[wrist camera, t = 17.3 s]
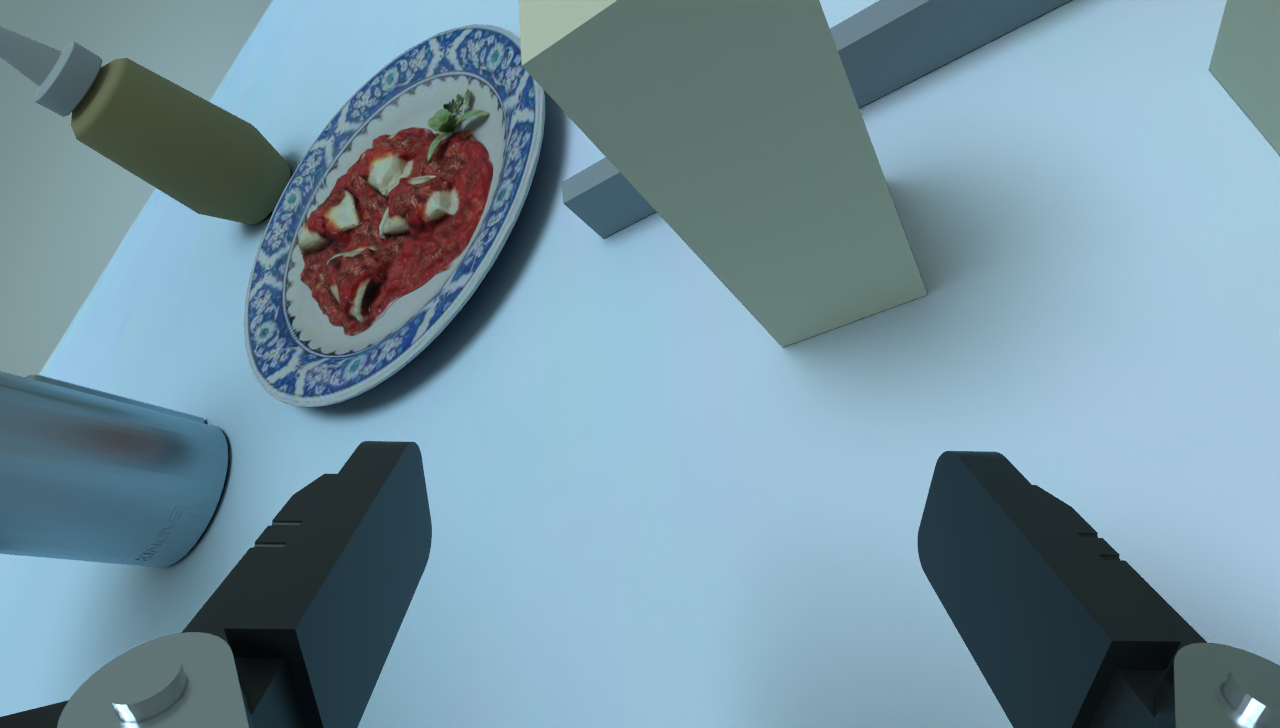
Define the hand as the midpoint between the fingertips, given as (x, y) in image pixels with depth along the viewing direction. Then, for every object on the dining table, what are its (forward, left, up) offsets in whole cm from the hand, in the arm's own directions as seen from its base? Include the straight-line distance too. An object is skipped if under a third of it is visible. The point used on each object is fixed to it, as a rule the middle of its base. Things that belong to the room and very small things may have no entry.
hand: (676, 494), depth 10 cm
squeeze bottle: (-52, -11, -12) cm, 55 cm away
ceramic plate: (-33, -4, -12) cm, 36 cm away
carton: (-7, +7, -11) cm, 15 cm away
